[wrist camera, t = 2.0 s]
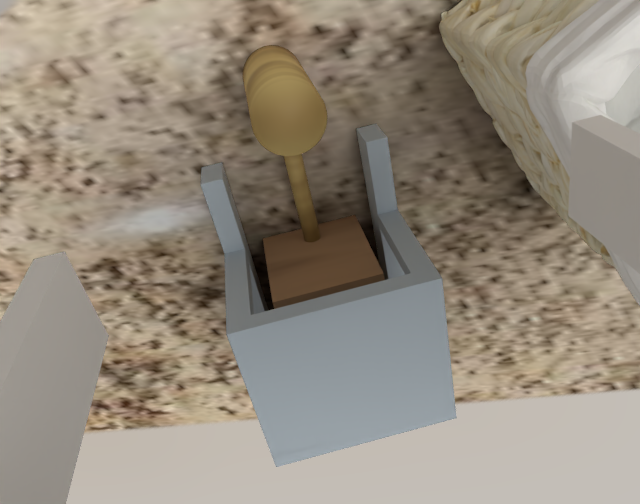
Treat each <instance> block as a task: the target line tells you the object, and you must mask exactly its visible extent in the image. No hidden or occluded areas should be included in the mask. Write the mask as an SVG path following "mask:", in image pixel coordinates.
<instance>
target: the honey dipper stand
mask: <svg viewBox="0 0 640 504" xmlns="http://www.w3.org/2000/svg"><path fill="white" fill-rule="evenodd" d="M243 82H244V87H245V92H246V98H247V103H248V109H249V114H250V119H251V125H252V129H253V132H254V135H255V137H256V138H257V140H258V141H259V143H260V144H261V145H262V146H263V147H264V148H266V149H267V150H269V151H270V152H272V153H274V154H277V155H282V156H284V160H285V164H286V168H287V172H288V176H289V180H290V184H291V188H292V192H293V196H294V200H295V204H296V208H297V212H298V216H299V220H300V224H301V228H302V229H298V230H294V231H290V232H286V233H282V234H278V235H274V236H271V237H267V238H263V244H264V250H265V257H266V263H267V270H268V276H269V283H270V289H271V296H272V302H273V306H274V309H276V308H280V307H284V306H288V305H292V304H296V303H299V302H303V301H307V300H311V299H315V298H318V297H322V296H326V295H330V294H334V293H338V292H341V291H345V290H349V289H353V288H357V287H360V286H364V285H368V284H372V283H376V282H380V281H383V280H385V279H384V273H383V271H382V269H381V267H380V265H379V263H378V261H377V259H376V257H375V255H374V253H373V251H372V249H371V247H370V245H369V242H368V240H367V238H366V236H365V234H364V232H363V230H362V228H361V226H360V224H359V222H358V220H357V218H356V216H355V215H352V216H348V217H344V218H340V219H337V220H333V221H329V222H325V223H321V224H318V223H317V219H316V214H315V210H314V206H313V201H312V197H311V193H310V188H309V184H308V180H307V175H306V171H305V167H304V162H303V158H302V153H305V152H307V151H308V150H310V149H311V148H313V147H314V146H315V145H316V144H317V143H318V142H319V140H320V139H321V138H322V136H323V134H324V132H325V129H326V125H327V110H326V107H325V104H324V102H323V100H322V98H321V96H320V95H319V93H318V92H317V90H316V88H315V87H314V85H313V84H312V82H311V80H310V79H309V77H308V76H307V74H306V72H305V71H304V69H303V68H302V66H301V65H300V63H299V61H298V60H297V58H296V57H295V56H294V55H293V54H292V53H291V52H290V51H289V50H287V49H285V48H283V47H280V46H275V45H269V46H264V47H261V48H259V49H257V50H256V51H254V52H253V53H252V54H251V55H250V56H249V58H248V59H247V61H246V63H245V66H244V69H243Z"/></svg>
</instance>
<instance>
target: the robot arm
mask: <svg viewBox="0 0 640 504" xmlns="http://www.w3.org/2000/svg"><path fill="white" fill-rule="evenodd" d="M568 216H569V217H570V218H572V219H573V220H574V221H575V222H577V223H578V224H579V225H580V226H581V227H583V228H584V229H585V230H586V231H588V232H589V233H590V234H591V235H593V236H594V237H595V238H596V239H597V240H599V241H600V242H601V243H602V244H604V245H605V246H606V247H607V248H609V249H610V250H611V251H612V252H613V253H615V254H616V255H617V256H618V257H620V258H621V259H622V260H623V261H625V262H626V263H627V264H628V265H629V266H631V267H632V268H633V269H634V270H636V271H637V272H638V273H639V274H640V134H639V133H637V132H635V131H633V130H631V129H629V128H627V127H625V126H623V125H621V124H619V123H617V122H615V121H612V120H610V119H608V118H606V117H604V116H602V115H598V116H594V117H590V118H586V119H582V120H578V121H574V122H572V139H571V161H570V184H569V207H568ZM108 337H109V335H108V334H107V332H106V330H105V328H104V326H103V324H102V322H101V320H100V318H99V316H98V314H97V312H96V311H95V309H94V307H93V305H92V303H91V301H90V299H89V297H88V295H87V293H86V291H85V289H84V288H83V286H82V284H81V282H80V280H79V278H78V276H77V274H76V272H75V270H74V268H73V267H72V265H71V263H70V261H69V259H68V257H67V255H66V253H65V251H64V252H60V253H56V254H52V255H49V256H45V257H41V258H37V259H34V260H33V262H32V264H31V265H30V267H29V269H28V271H27V273H26V275H25V277H24V278H23V280H22V282H21V284H20V286H19V288H18V289H17V291H16V293H15V295H14V297H13V299H12V301H11V302H10V304H9V306H8V308H7V310H6V312H5V313H4V315H3V317H2V319H1V321H0V504H66V501H67V497H68V493H69V488H70V485H71V481H72V477H73V473H74V469H75V465H76V462H77V458H78V454H79V450H80V446H81V442H82V438H83V434H84V430H85V426H86V423H87V419H88V415H89V411H90V407H91V403H92V399H93V395H94V391H95V387H96V383H97V380H98V376H99V372H100V368H101V364H102V360H103V356H104V352H105V348H106V344H107V341H108Z"/></svg>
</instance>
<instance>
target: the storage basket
mask: <svg viewBox="0 0 640 504" xmlns="http://www.w3.org/2000/svg"><path fill="white" fill-rule="evenodd" d="M441 18H442V20H441V22H440V24H439V30H440V32H441V34H442V39H443V42H444V44H445V47H446V49H447V50H448V52H449V53H450V54H451V56H452V57H453V58H454V59H455V61H456V62H457V63H458V66H459V70H460V72H461V74H462V75H463V77H464V78H465V80H466V81H467V83H468V84H469V85H470V87H471V88H472V89H473V90H474V93H475V95H476V98H477V100H478V102H479V103H480V105H481V106H482V108H483V109H484V111H485V112H486V113H488V114H489V115H490V116H491V117H492V119H493V122H492V123H493V125H494V127H495V129H496V131H497V133H498V135H499V137H500V138H501V140H502V141H503V142H504V143H505V144H506V145H507V146H508V147H509V148H510V149H511V151H512V154H513V156H514V159H515V161H516V162H517V164H518V166H519V167H520V169H521V170H523V171H524V172H525V173H526V178H527V179H528V181H529V182H530V184H531V185H532V187H533V188H534V190H536V191H537V192H538V193H539V194H540V195H541V197H542V198H543V199H544V200H545V201H546V202H547V203H548V204H550V205H551V207H552V208H553V209H554V210H555V211H556V212H557V214H558V215H559V216H560V217H561V219H562V220H564V221H566V223H567V225H568V226H569V227H570V229H572V230H573V231H574V232H576V233H577V234H579V236H580V237H581V238H582V239H584V241H585V242H586V243H587V244H588V245H589V247H590V248H591V249H592V250H594V251H595V252H596V253H598V254H600V255H602V259H603V260H605V261H606V262H607V263H608V264H610V265H612V266H613V267H615V269H616V270H617V272H618V273H619V275H620V277H621V278H622V280H623V282H624V284H625V285H626V287H627V288H628V289H629V291H630V292H631V294H632V295H633V297H634V299H635V300H636V302H637V303H638V304H639V306H640V274H639V273H638V272H637V271H636V270H634V269H633V268H632V267H631V266H629V265H628V264H627V263H626V262H625V261H623V260H622V259H621V258H620V257H618V256H617V255H616V254H615V253H613V252H612V251H611V250H610V249H609V248H607V247H606V246H605V245H604V244H602V243H601V242H600V241H599V240H597V239H596V238H595V237H594V236H593V235H591V234H590V233H589V232H588V231H586V230H585V229H584V228H583V227H581V226H580V225H579V224H578V223H577V222H575V221H574V220H573V219H572V218H570V217H569V216H568V207H569V184H570V161H571V139H572V122H574V121H578V120H582V119H586V118H590V117H594V116H598V115H602V116H604V117H606V118H608V119H610V120H612V121H615V122H617V123H619V124H621V125H623V126H625V127H627V128H629V129H631V130H633V131H635V132H637V133H639V134H640V0H462V1H461V2H460V3H458V4H457V5H456V6H455V7H454V8H452V9H451V10H450V11H448V12H446V11H445V12H443V13H441Z"/></svg>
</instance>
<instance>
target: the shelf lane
mask: <svg viewBox="0 0 640 504" xmlns="http://www.w3.org/2000/svg"><path fill="white" fill-rule="evenodd" d="M356 131H357V136H358V142H359V148H360V154H361V160H362V166H363V171H364V177H365V183H366V189H367V195H368V200H369V206H370V212H371V218H372V224H373V229H374V235H375V241H376V247H377V253H378V258H379V264H380V267H381V269H382V271H383V273H384V279H385V280H383V281H380V282H376V283H372V284H368V285H364V286H360V287H357V288H353V289H349V290H345V291H341V292H338V293H334V294H330V295H326V296H322V297H318V298H315V299H311V300H307V301H303V302H299V303H296V304H292V305H288V306H284V307H280V308H276V309H273V310H268V307H267V304H266V301H265V298H264V294H263V291H262V288H261V285H260V282H259V279H258V275H257V272H256V269H255V266H254V263H253V259H252V256H251V253H250V250H249V247H248V244H247V240H246V237H245V234H244V231H243V228H242V224H241V221H240V218H239V215H238V212H237V209H236V205H235V202H234V199H233V196H232V193H231V189H230V186H229V183H228V180H227V177H226V174H225V170H224V167H223V164H222V162H221V163H217V164H213V165H209V166H205V167H202V169H201V187H202V190H203V193H204V196H205V199H206V202H207V205H208V207H209V210H210V213H211V216H212V219H213V222H214V225H215V228H216V231H217V234H218V237H219V239H220V242H221V245H222V248H223V251H224V254H225V293H226V333H227V337H228V340H229V342H230V345H231V348H232V350H233V353H234V356H235V358H236V361H237V364H238V366H239V369H240V372H241V374H242V377H243V380H244V382H245V385H246V388H247V390H248V393H249V396H250V398H251V401H252V404H253V406H254V409H255V412H256V414H257V417H258V420H259V422H260V425H261V428H262V430H263V433H264V436H265V438H266V441H267V444H268V446H269V449H270V452H271V454H272V457H273V460H274V462H275V465H276V467H278V466H282V465H285V464H289V463H293V462H297V461H300V460H304V459H308V458H311V457H315V456H318V455H322V454H326V453H330V452H333V451H337V450H341V449H344V448H348V447H352V446H355V445H359V444H362V443H366V442H370V441H374V440H377V439H381V438H385V437H389V436H392V435H396V434H400V433H403V432H407V431H411V430H414V429H418V428H421V427H425V426H429V425H432V424H436V423H440V422H444V421H447V420H451V419H454V418H456V409H455V399H454V389H453V379H452V370H451V360H450V350H449V341H448V331H447V321H446V311H445V302H444V292H443V282H442V277H441V276H440V274H439V273H438V271H437V269H436V268H435V266H434V265H433V263H432V262H431V260H430V259H429V257H428V256H427V254H426V252H425V251H424V249H423V248H422V246H421V245H420V243H419V242H418V240H417V239H416V237H415V235H414V234H413V232H412V231H411V229H410V228H409V226H408V225H407V223H406V222H405V220H404V219H403V217H402V215H401V214H400V212H399V211H398V208H397V201H396V194H395V187H394V180H393V173H392V166H391V159H390V152H389V145H388V138H387V136H386V135H385V134H384V133H383V131H382V130H381V129H380V128H379V126H378V125H377V124H372V125H368V126H364V127H360V128H356Z"/></svg>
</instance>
